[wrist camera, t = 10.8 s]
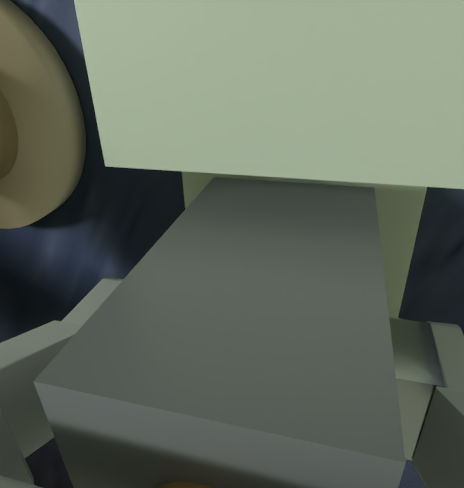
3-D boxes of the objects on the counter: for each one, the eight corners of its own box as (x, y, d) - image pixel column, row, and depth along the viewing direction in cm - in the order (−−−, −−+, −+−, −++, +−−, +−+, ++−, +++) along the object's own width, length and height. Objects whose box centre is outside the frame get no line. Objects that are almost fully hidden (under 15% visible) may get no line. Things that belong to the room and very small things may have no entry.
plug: (213, 177, 10) (-58, 484, 4) (374, 187, 10) (425, 633, 3) (220, 300, 12) (52, 652, 6) (354, 319, 11) (352, 774, 5)
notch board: (206, 380, 18) (164, 482, 14) (166, -104, 10) (39, -184, 6) (373, 412, 16) (379, 539, 12) (492, -140, 8) (624, -290, 4)
